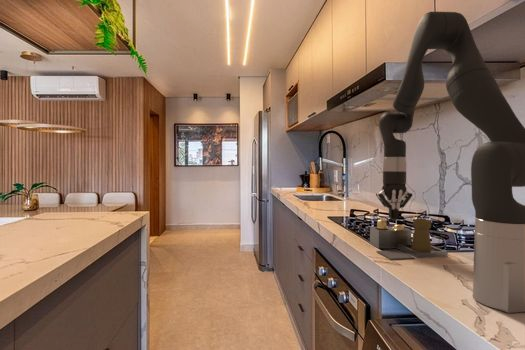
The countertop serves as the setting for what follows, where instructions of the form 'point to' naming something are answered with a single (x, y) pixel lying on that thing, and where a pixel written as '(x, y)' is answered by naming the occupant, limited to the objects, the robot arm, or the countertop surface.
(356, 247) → the countertop surface
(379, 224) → the plunger
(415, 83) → the robot arm
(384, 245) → the housing
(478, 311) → the countertop surface
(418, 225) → the cork
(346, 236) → the countertop surface
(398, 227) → the plunger
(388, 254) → the mat
